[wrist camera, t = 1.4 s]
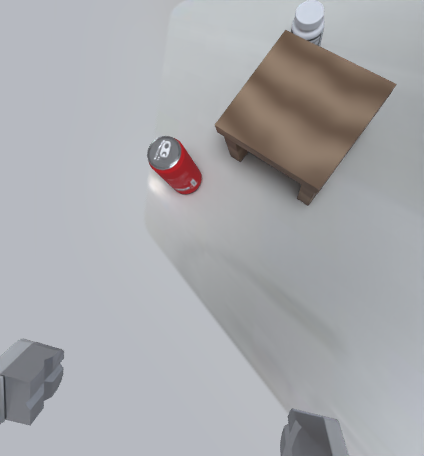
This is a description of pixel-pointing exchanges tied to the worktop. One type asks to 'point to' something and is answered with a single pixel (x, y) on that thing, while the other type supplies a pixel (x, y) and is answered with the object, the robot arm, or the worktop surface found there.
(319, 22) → the pill bottle
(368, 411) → the worktop surface
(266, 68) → the walnut stool
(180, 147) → the beverage can
